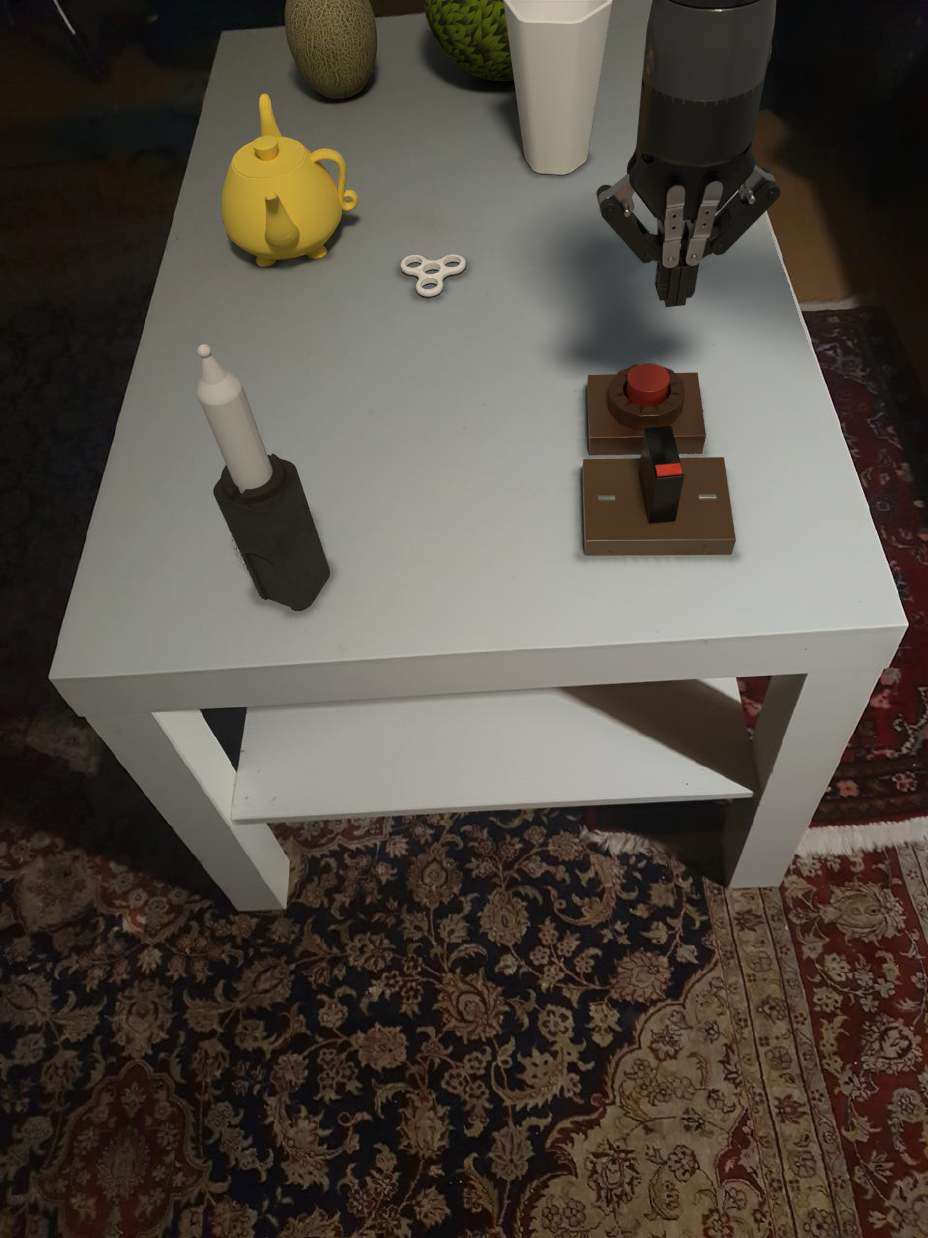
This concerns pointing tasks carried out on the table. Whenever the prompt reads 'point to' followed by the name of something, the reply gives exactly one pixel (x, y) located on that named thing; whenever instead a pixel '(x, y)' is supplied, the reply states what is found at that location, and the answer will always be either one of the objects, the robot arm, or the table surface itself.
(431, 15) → the decorative ball
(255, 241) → the teapot
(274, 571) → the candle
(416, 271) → the fidget spinner
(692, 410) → the block
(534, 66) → the cup
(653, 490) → the thumbturn
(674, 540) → the plate
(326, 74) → the fruit
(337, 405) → the table surface
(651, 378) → the button
